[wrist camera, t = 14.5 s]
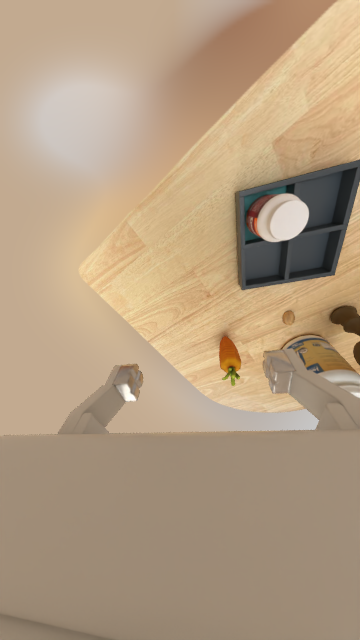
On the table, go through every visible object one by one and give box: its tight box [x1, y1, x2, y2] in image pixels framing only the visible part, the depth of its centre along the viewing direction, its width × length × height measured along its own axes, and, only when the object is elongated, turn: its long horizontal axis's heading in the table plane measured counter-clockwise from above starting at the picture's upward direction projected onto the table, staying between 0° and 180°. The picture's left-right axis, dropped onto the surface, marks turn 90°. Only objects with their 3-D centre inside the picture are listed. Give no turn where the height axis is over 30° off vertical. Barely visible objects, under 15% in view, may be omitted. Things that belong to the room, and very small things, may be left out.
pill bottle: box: [246, 193, 309, 242], centre depth 27 cm, size 6×6×11 cm
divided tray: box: [235, 160, 360, 290], centre depth 32 cm, size 17×17×4 cm
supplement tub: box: [283, 335, 360, 398], centre depth 42 cm, size 12×12×17 cm
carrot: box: [219, 336, 241, 386], centre depth 43 cm, size 5×5×15 cm
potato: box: [283, 311, 295, 325], centre depth 43 cm, size 3×4×2 cm, turn 16°
